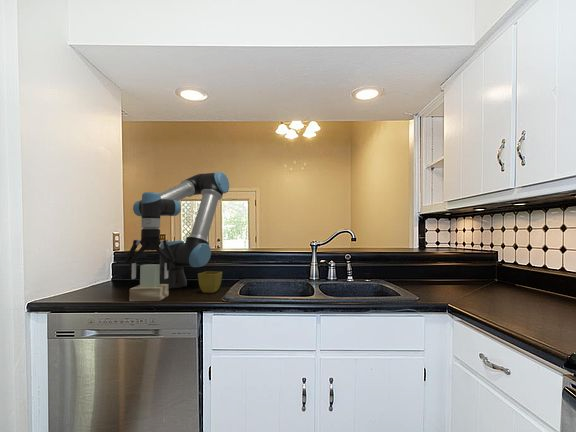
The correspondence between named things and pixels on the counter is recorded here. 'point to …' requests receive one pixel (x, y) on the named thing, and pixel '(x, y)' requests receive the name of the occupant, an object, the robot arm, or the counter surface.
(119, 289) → the counter surface
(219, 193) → the robot arm
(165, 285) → the base block
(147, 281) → the sage block
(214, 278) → the flower pot
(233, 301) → the counter surface
